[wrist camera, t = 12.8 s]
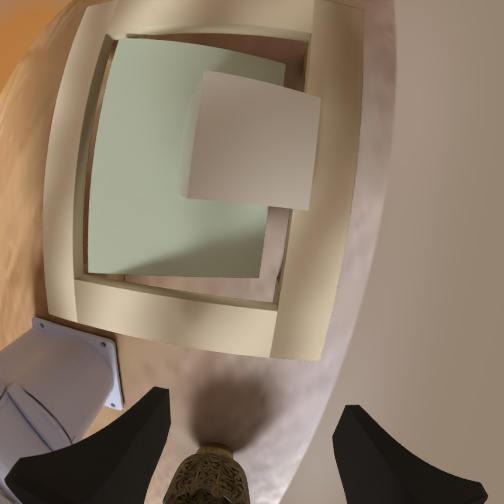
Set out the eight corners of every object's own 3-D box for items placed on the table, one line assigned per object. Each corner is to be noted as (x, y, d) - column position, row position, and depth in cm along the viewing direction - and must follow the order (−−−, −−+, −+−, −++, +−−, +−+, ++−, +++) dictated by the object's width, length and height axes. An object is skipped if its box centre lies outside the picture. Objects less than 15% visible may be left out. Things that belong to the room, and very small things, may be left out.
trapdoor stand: (101, 279, 20) (48, 314, 13) (129, 48, 16) (87, 6, 10) (300, 307, 20) (319, 361, 13) (331, 59, 17) (362, 9, 10)
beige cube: (176, 192, 13) (187, 198, 9) (188, 102, 12) (205, 70, 8) (264, 201, 15) (308, 210, 11) (274, 117, 14) (321, 98, 10)
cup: (257, 433, 23) (257, 501, 15) (248, 472, 24) (246, 531, 17) (177, 422, 23) (157, 487, 15) (180, 463, 24) (166, 519, 17)
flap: (91, 256, 15) (79, 272, 13) (115, 60, 13) (110, 37, 10) (241, 262, 19) (258, 278, 16) (264, 80, 16) (285, 64, 13)
